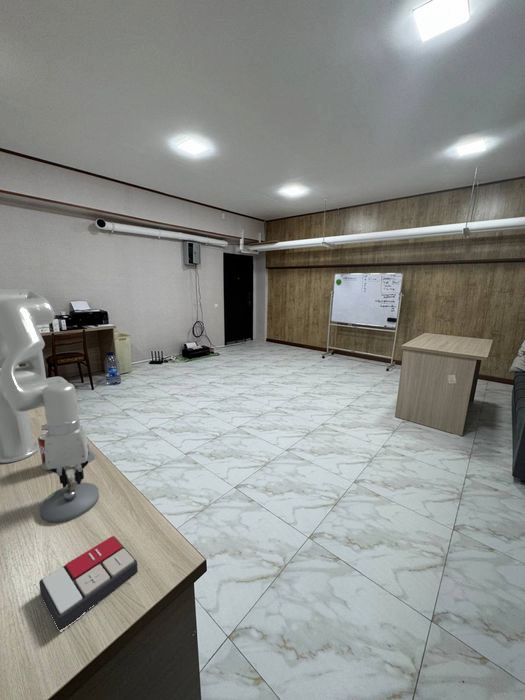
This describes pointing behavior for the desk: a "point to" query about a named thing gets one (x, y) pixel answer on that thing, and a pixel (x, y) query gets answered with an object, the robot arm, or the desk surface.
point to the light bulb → (70, 482)
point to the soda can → (42, 448)
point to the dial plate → (69, 503)
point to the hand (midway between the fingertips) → (72, 482)
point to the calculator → (86, 580)
